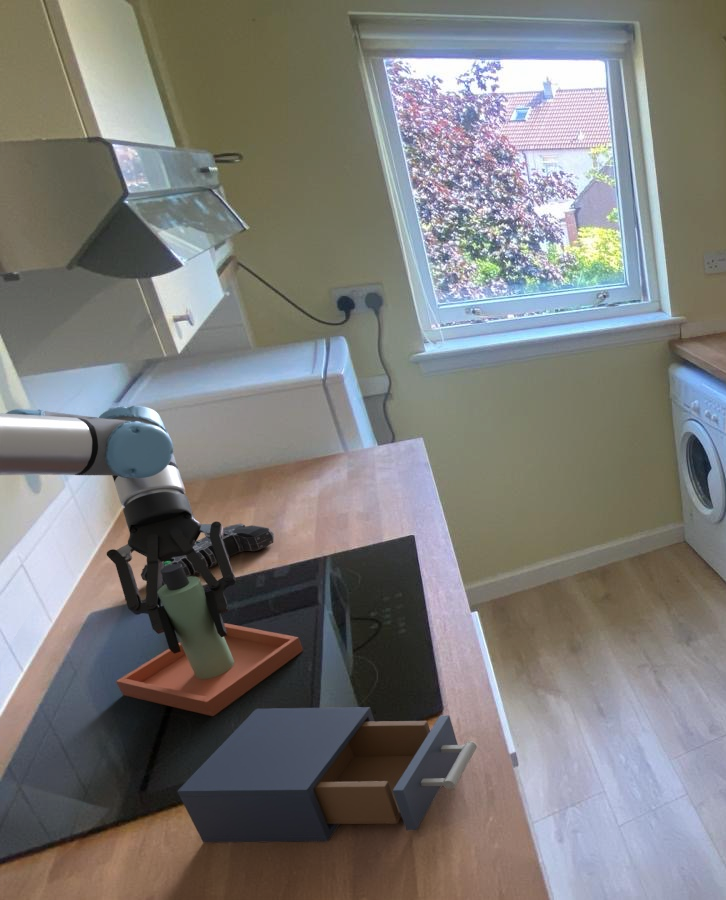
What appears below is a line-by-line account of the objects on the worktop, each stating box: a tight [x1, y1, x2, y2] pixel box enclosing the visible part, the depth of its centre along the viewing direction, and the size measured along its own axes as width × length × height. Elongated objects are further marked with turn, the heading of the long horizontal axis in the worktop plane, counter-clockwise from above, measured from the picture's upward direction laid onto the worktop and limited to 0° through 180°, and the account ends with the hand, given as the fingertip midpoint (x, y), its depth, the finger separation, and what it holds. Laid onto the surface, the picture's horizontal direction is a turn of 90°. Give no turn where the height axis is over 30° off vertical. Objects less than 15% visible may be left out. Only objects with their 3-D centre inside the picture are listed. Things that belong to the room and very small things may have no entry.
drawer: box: [313, 714, 477, 831], centre depth 88 cm, size 18×11×6 cm, turn 89°
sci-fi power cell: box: [140, 523, 275, 586], centre depth 139 cm, size 4×19×10 cm
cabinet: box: [176, 706, 376, 843], centre depth 88 cm, size 15×13×8 cm
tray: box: [115, 622, 304, 717], centre depth 111 cm, size 18×15×3 cm
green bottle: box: [158, 564, 234, 679], centre depth 107 cm, size 5×5×18 cm
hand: (199, 641), depth 105 cm, fingers closed on green bottle, 5 cm apart
